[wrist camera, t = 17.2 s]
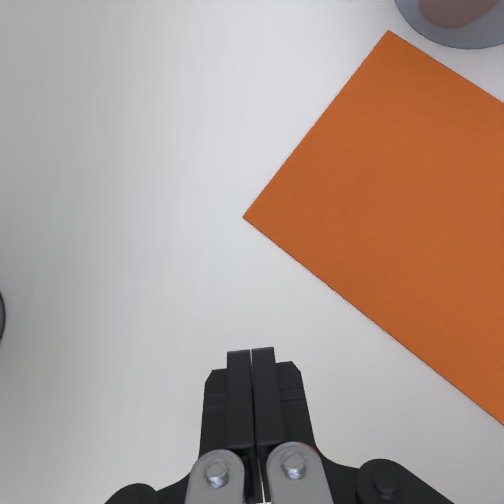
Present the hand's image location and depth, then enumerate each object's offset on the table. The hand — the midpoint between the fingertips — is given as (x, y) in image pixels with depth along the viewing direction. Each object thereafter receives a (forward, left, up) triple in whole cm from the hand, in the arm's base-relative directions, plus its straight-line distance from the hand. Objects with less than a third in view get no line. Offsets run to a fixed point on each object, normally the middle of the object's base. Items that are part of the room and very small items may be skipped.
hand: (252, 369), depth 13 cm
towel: (+4, +12, -19) cm, 23 cm away
